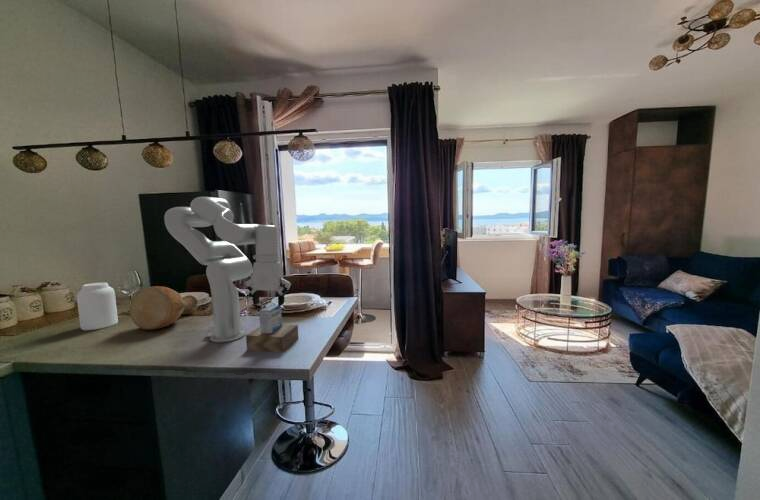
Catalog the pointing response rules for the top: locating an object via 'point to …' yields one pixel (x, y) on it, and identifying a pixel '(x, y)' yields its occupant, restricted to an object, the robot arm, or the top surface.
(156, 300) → the jug
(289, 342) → the walnut block
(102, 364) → the top surface
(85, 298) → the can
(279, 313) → the medicine box
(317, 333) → the top surface
